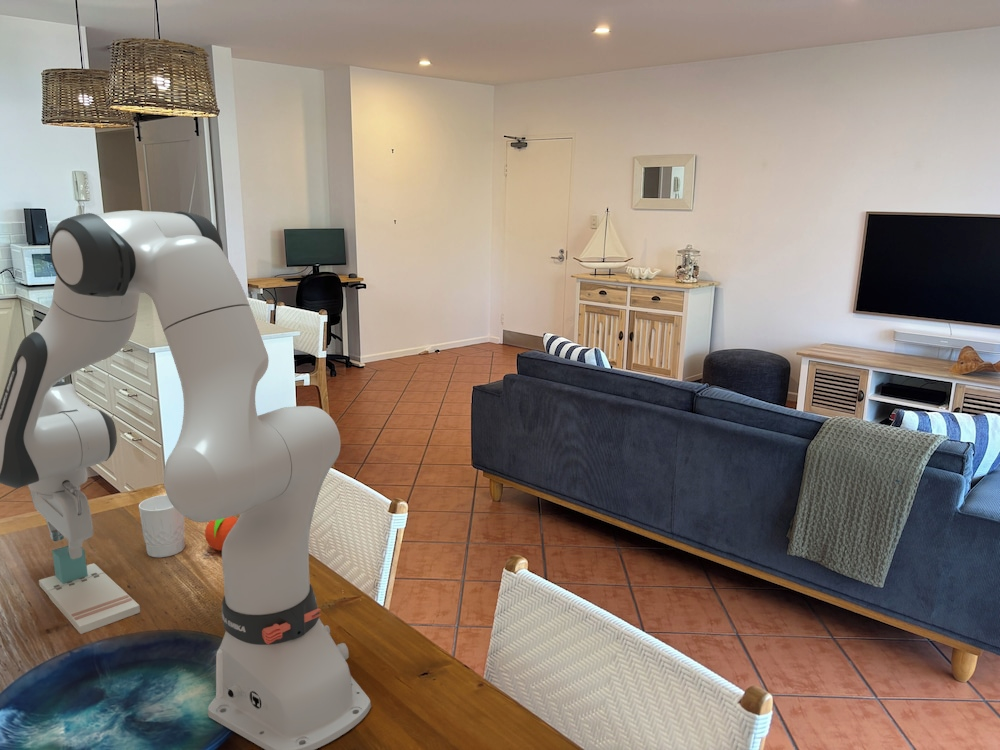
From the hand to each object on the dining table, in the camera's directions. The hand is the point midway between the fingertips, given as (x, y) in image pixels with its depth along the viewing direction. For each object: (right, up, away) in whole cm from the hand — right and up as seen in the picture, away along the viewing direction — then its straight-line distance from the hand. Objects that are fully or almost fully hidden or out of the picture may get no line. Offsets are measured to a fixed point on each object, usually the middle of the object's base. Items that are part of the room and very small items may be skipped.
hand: (66, 547), depth 130 cm
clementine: (+22, -4, +15) cm, 27 cm away
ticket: (+8, -8, -6) cm, 13 cm away
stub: (0, -6, +1) cm, 6 cm away
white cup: (+11, -4, +14) cm, 19 cm away
